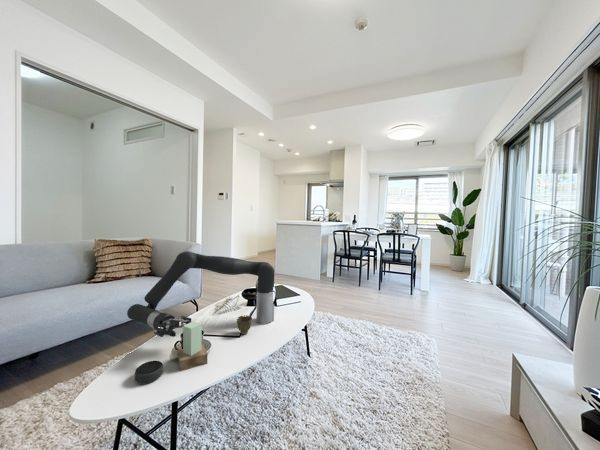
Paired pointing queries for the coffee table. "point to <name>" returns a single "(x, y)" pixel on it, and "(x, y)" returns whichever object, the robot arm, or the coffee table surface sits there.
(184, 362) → the walnut plinth
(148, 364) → the smart speaker
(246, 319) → the cup
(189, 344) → the green block
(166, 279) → the robot arm
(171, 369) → the coffee table surface
